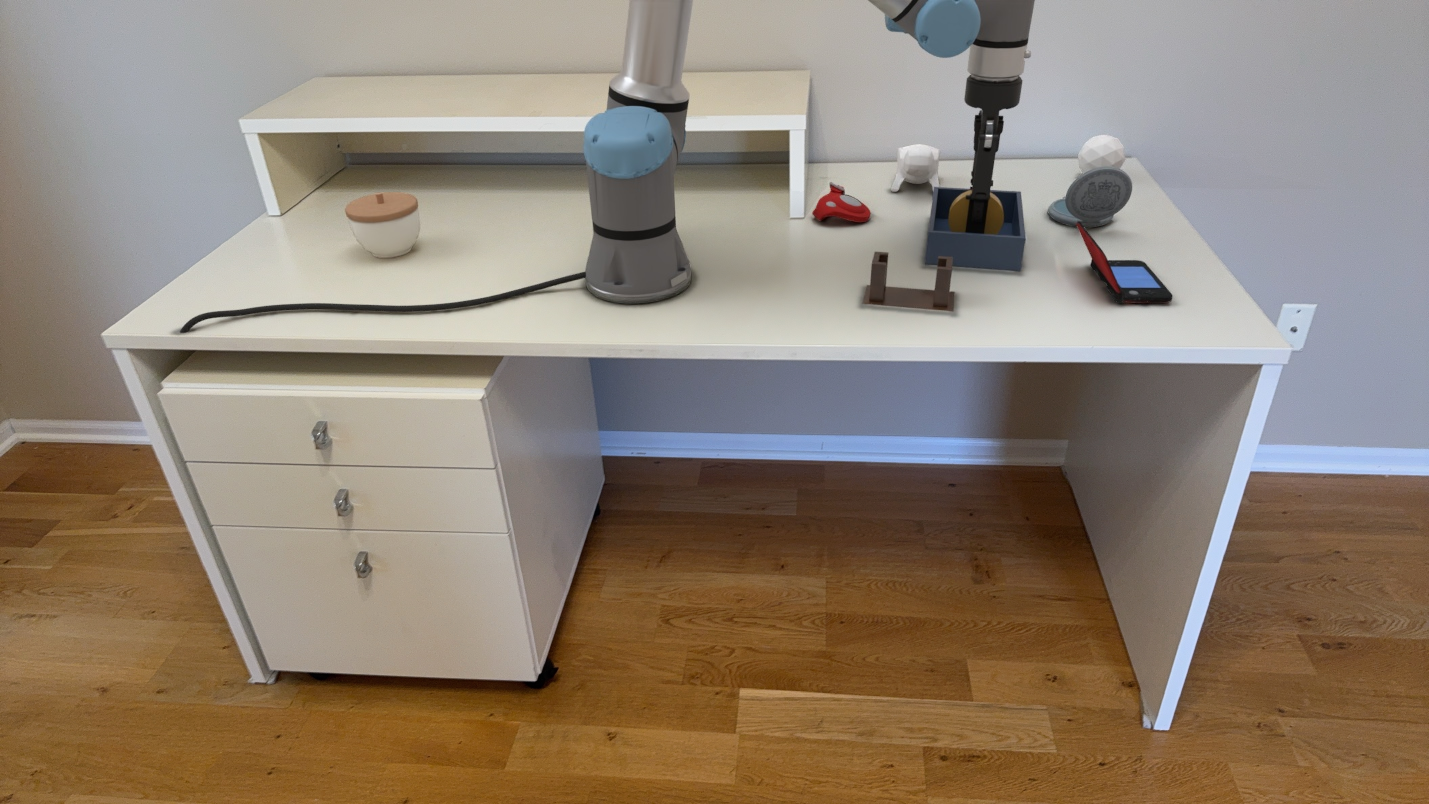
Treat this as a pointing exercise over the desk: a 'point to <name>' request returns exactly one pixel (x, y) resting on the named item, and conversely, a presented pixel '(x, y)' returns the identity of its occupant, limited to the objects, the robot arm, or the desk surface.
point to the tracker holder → (841, 206)
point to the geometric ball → (1101, 153)
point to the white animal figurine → (917, 166)
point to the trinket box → (385, 223)
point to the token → (960, 213)
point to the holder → (907, 296)
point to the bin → (975, 247)
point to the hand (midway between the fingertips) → (973, 233)
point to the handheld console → (1125, 276)
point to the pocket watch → (1093, 198)
